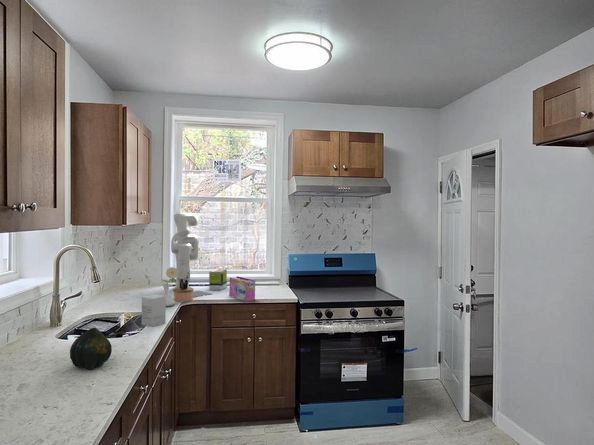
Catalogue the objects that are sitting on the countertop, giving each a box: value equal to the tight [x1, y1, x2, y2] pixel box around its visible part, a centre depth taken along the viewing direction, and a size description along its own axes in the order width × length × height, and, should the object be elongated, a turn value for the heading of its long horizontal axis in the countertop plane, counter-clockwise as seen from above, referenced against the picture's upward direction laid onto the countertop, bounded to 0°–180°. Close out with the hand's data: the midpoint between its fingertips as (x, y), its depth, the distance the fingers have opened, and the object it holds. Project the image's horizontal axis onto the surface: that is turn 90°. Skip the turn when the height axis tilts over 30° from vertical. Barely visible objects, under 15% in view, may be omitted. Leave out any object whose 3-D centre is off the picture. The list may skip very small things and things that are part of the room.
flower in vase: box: [162, 266, 178, 307], centre depth 264 cm, size 13×11×25 cm
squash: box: [69, 327, 113, 370], centre depth 161 cm, size 14×15×15 cm
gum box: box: [228, 276, 256, 302], centre depth 292 cm, size 24×8×14 cm, turn 40°
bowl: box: [173, 291, 194, 302], centre depth 283 cm, size 12×12×6 cm
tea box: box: [208, 268, 228, 291], centre depth 326 cm, size 15×10×15 cm, turn 172°
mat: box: [193, 290, 213, 298], centre depth 302 cm, size 17×17×1 cm
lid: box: [173, 281, 195, 293], centre depth 283 cm, size 14×14×6 cm
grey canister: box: [141, 294, 166, 328], centre depth 221 cm, size 9×9×15 cm
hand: (183, 288), depth 283 cm, fingers closed on lid, 3 cm apart
